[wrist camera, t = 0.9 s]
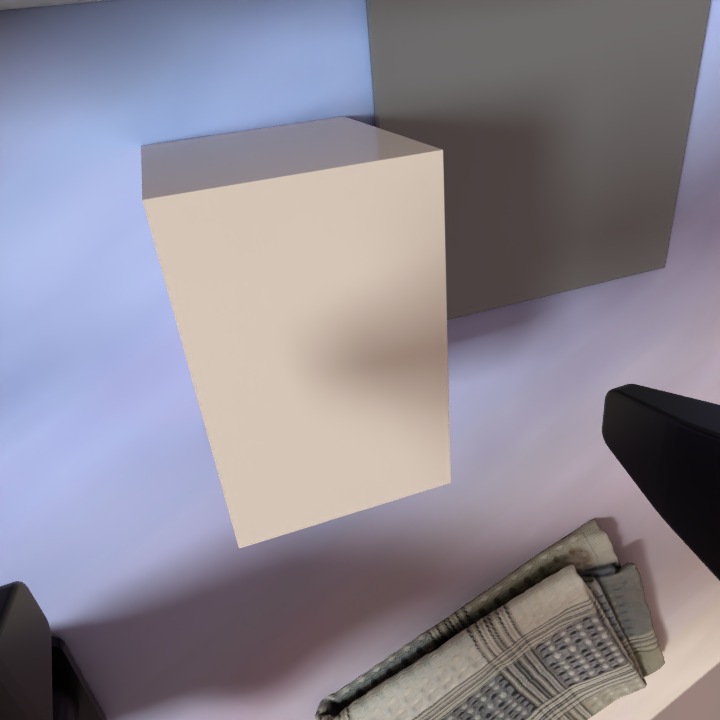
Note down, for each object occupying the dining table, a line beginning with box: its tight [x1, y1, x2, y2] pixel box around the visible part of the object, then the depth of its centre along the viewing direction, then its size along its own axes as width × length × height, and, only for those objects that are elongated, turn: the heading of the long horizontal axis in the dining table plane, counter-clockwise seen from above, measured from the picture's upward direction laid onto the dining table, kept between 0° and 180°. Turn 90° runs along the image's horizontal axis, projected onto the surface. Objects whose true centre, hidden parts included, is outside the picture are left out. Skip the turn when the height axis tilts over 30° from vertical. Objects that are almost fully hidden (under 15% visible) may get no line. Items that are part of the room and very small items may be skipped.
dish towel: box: [315, 519, 665, 720], centre depth 35 cm, size 19×18×3 cm
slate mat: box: [366, 0, 711, 320], centre depth 20 cm, size 12×12×1 cm
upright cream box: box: [141, 116, 451, 549], centre depth 17 cm, size 9×6×7 cm, turn 6°
